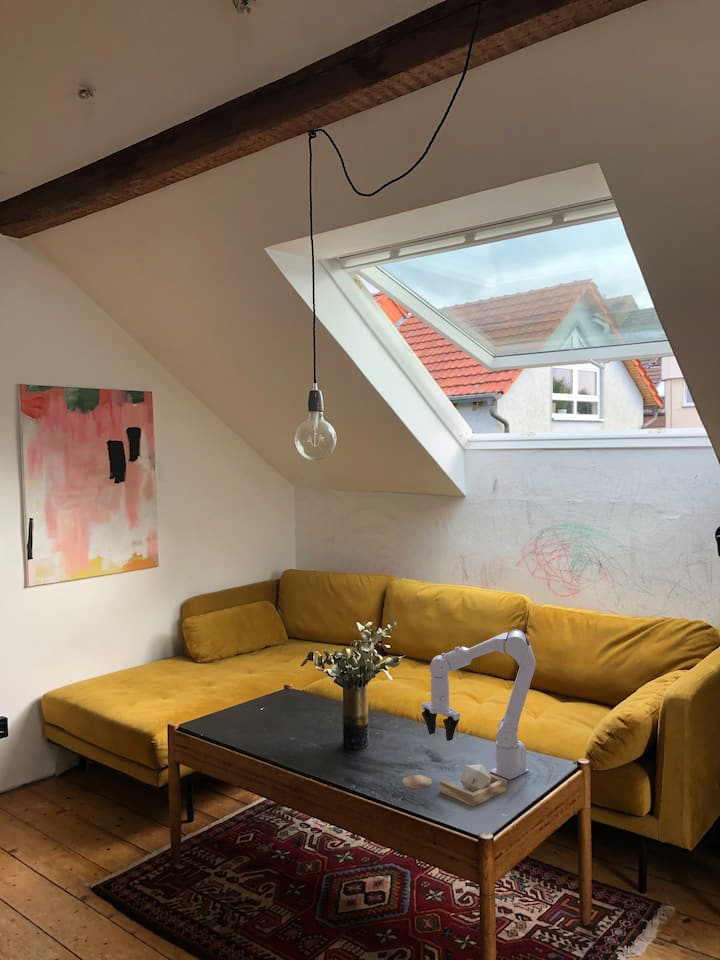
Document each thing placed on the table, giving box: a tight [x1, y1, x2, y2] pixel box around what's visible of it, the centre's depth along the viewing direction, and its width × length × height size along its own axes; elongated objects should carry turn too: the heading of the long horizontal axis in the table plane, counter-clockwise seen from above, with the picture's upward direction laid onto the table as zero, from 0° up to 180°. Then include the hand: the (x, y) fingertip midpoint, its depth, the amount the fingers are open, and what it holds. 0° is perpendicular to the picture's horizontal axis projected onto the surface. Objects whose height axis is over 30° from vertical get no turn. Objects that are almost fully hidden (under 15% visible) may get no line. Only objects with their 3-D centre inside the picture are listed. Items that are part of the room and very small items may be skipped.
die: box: [459, 763, 491, 792], centre depth 229 cm, size 8×9×10 cm
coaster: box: [401, 774, 433, 789], centre depth 237 cm, size 9×9×1 cm
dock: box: [439, 772, 508, 807], centre depth 230 cm, size 15×13×3 cm
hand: (440, 736), depth 247 cm, fingers open, 7 cm apart
